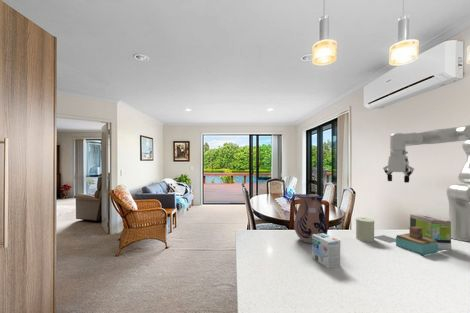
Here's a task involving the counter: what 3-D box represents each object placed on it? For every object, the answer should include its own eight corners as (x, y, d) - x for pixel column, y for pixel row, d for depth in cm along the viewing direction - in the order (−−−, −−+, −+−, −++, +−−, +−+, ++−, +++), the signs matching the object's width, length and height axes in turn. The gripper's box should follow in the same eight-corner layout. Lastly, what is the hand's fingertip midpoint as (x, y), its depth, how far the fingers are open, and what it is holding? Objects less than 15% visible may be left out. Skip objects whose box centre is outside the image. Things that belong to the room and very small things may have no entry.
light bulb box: (311, 257, 101) (311, 233, 102) (323, 256, 104) (323, 232, 104) (328, 268, 91) (328, 241, 92) (341, 266, 93) (341, 240, 94)
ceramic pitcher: (320, 249, 111) (320, 199, 112) (282, 239, 125) (283, 194, 126) (332, 240, 124) (332, 195, 125) (296, 232, 138) (296, 191, 139)
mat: (383, 236, 133) (383, 235, 133) (401, 241, 124) (401, 240, 124) (372, 238, 130) (372, 237, 130) (389, 243, 120) (389, 242, 120)
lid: (410, 234, 120) (410, 223, 121) (436, 242, 110) (436, 229, 110) (396, 237, 116) (396, 225, 116) (422, 244, 105) (421, 232, 106)
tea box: (452, 250, 113) (451, 220, 113) (432, 249, 113) (431, 220, 113) (427, 240, 128) (427, 213, 128) (409, 239, 128) (409, 213, 128)
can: (370, 237, 130) (370, 217, 130) (377, 243, 121) (377, 221, 121) (353, 236, 131) (353, 216, 132) (359, 242, 122) (359, 220, 122)
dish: (410, 244, 121) (410, 234, 121) (437, 252, 109) (437, 242, 110) (396, 246, 116) (395, 237, 116) (422, 255, 105) (422, 245, 105)
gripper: (417, 153, 130) (417, 182, 129) (387, 154, 146) (387, 180, 145) (409, 153, 127) (409, 183, 127) (379, 153, 143) (379, 180, 143)
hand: (398, 181), depth 136 cm, fingers open, 9 cm apart
